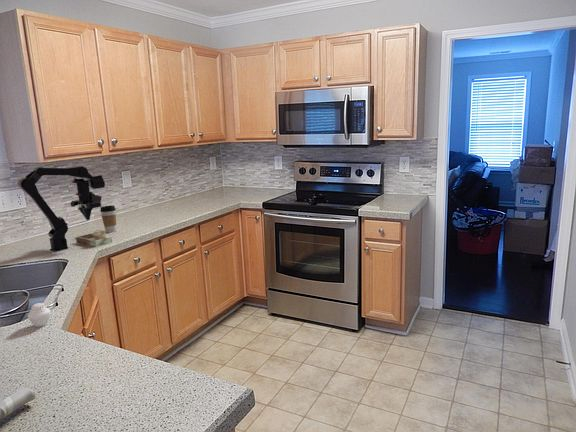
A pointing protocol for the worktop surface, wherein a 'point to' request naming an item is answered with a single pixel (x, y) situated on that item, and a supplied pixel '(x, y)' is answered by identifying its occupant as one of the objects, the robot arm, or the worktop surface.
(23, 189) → the robot arm
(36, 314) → the pale grey rounded lump
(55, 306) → the worktop surface
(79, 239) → the trap board
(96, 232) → the beech block
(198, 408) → the worktop surface
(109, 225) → the coffee cup
